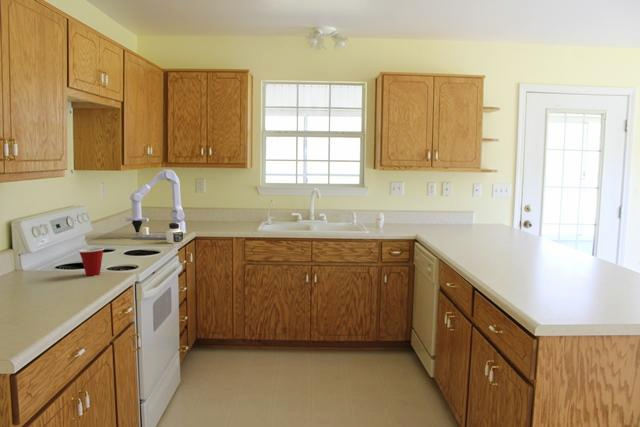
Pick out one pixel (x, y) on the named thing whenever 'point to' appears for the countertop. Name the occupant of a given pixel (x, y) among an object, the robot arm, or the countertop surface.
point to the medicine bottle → (174, 234)
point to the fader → (145, 230)
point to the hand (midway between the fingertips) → (137, 232)
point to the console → (151, 236)
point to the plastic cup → (92, 260)
